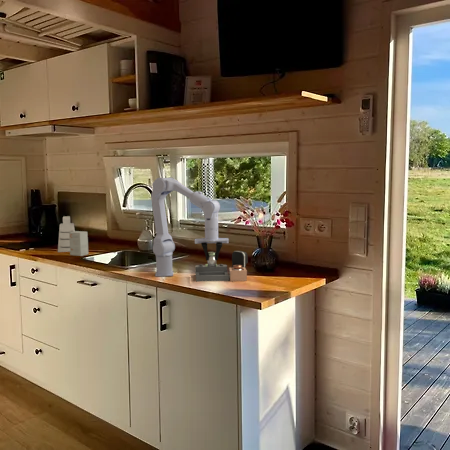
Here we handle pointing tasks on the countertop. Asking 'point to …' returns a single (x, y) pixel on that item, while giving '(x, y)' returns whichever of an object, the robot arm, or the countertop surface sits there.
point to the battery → (239, 258)
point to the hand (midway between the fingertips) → (211, 259)
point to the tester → (211, 273)
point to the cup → (238, 274)
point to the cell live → (211, 259)
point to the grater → (65, 234)
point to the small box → (78, 243)
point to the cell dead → (237, 267)
